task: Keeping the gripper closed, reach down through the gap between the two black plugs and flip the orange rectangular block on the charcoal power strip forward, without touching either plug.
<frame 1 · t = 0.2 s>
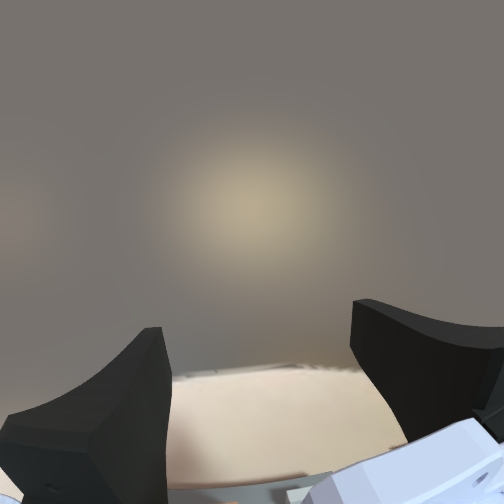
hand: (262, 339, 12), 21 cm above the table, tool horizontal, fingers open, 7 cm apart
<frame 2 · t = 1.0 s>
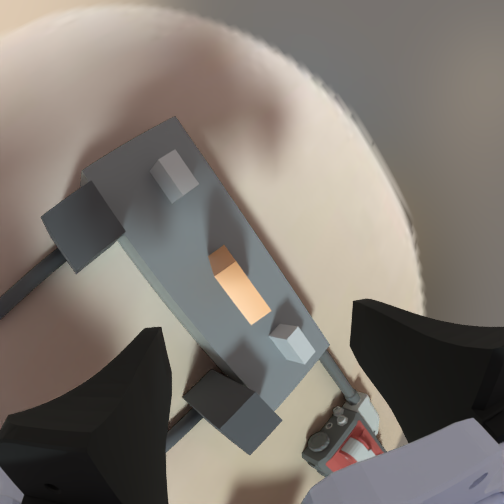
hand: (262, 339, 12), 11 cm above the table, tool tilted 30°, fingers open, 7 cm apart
power strip: (204, 274, 23), on the table
plug 1: (209, 396, 22), on the table
orange rectangular block: (236, 280, 17), point 6 cm above the table, hinge at -25.0°
walkie-talkie: (333, 432, 29), on the table
plug 2: (80, 240, 18), on the table
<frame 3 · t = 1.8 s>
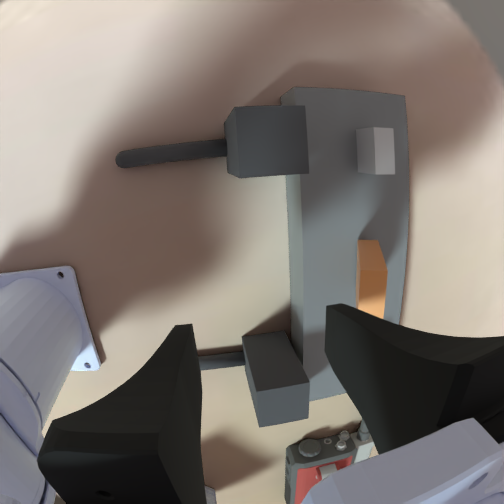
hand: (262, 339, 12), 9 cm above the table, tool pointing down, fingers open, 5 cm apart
power strip: (339, 249, 21), on the table
plug 1: (264, 351, 23), on the table
orange rectangular block: (369, 281, 16), point 6 cm above the table, hinge at -25.0°
walkie-talkie: (324, 447, 28), on the table
plug 2: (251, 146, 19), on the table
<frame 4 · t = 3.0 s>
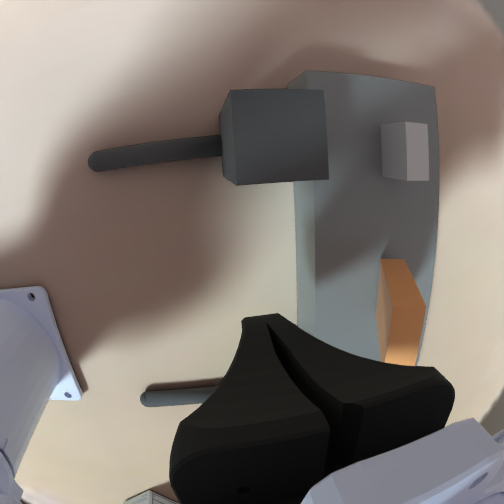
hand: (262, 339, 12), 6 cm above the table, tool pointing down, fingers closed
power strip: (354, 266, 18), on the table
plug 1: (266, 381, 19), on the table
orange rectangular block: (396, 311, 12), point 6 cm above the table, hinge at -25.0°
plug 2: (251, 143, 15), on the table
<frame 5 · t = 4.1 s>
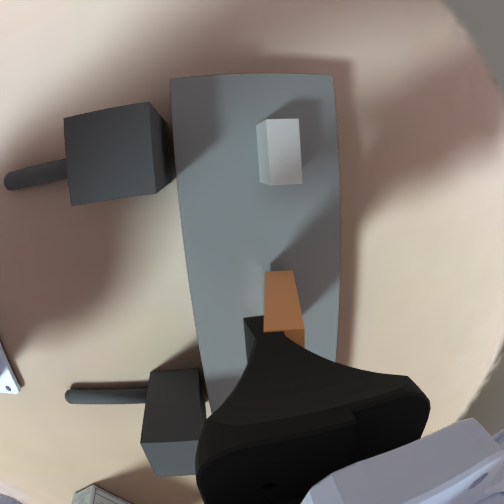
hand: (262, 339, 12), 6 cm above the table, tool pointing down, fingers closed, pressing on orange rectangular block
power strip: (257, 276, 18), on the table
plug 1: (178, 388, 19), on the table
orange rectangular block: (282, 330, 12), point 6 cm above the table, hinge at -11.6°, touching gripper
plug 2: (139, 156, 15), on the table
medicine box: (116, 503, 22), on the table
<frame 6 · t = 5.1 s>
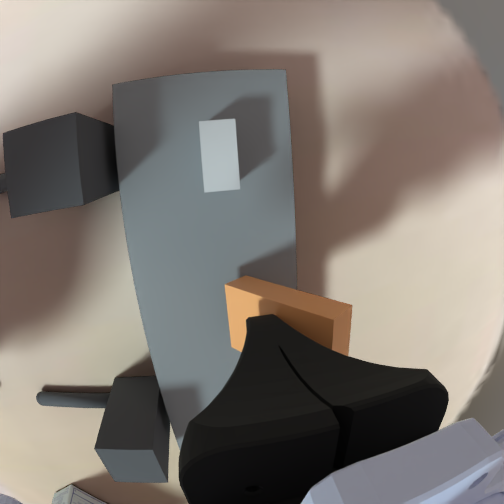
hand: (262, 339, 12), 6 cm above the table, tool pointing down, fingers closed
power strip: (215, 284, 17), on the table
plug 1: (143, 394, 18), on the table
orange rectangular block: (284, 330, 12), point 5 cm above the table, hinge at 37.0°, touching gripper
plug 2: (94, 162, 14), on the table
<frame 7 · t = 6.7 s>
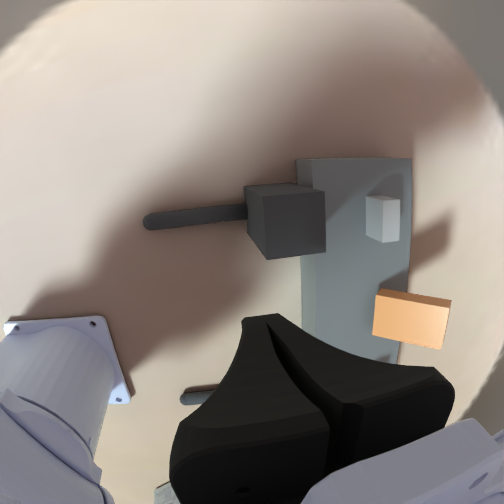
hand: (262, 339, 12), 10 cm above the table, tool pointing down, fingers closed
power strip: (345, 294, 24), on the table
plug 1: (278, 382, 25), on the table
orange rectangular block: (411, 318, 19), point 5 cm above the table, hinge at 41.6°, touching power strip
plug 2: (268, 207, 21), on the table
medicine box: (193, 493, 28), on the table
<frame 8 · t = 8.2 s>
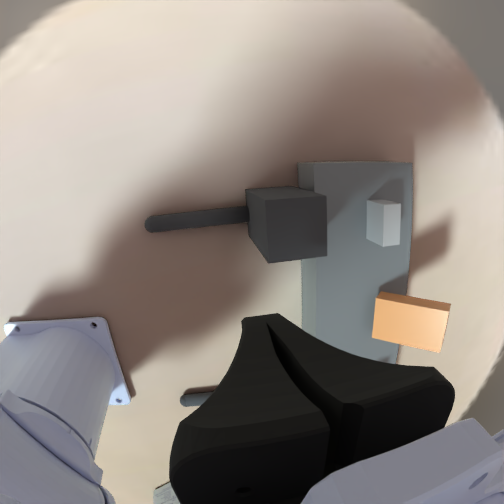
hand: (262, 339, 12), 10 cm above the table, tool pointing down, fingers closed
power strip: (345, 297, 24), on the table
plug 1: (278, 384, 25), on the table
orange rectangular block: (410, 321, 19), point 5 cm above the table, hinge at 41.6°, touching power strip
plug 2: (270, 210, 21), on the table
medicine box: (192, 493, 28), on the table
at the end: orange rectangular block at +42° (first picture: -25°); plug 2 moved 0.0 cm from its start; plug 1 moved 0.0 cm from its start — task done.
